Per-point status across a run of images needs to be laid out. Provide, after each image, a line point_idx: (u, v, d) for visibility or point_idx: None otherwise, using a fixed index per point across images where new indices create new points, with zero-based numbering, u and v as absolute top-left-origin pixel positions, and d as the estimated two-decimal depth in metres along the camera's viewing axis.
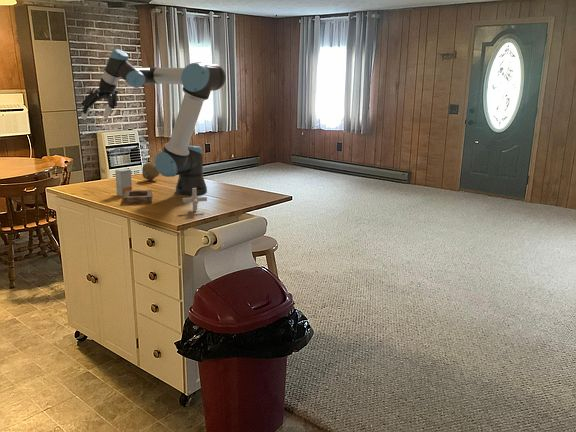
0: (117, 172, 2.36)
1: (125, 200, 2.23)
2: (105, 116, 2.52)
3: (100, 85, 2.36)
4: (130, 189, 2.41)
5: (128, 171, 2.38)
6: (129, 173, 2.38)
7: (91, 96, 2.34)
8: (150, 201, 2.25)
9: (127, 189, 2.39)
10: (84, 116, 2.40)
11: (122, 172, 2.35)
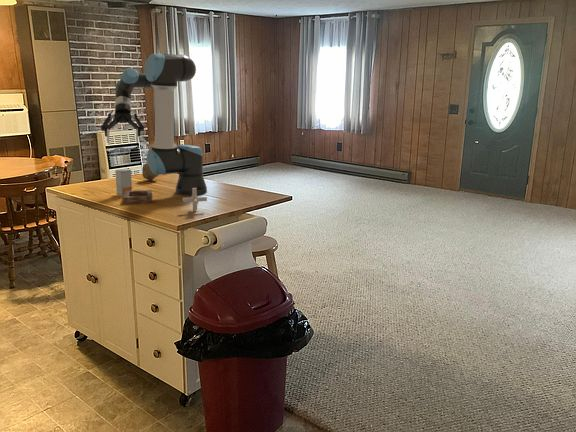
0: (117, 172, 2.36)
1: (125, 200, 2.23)
2: (136, 139, 2.46)
3: None
4: (130, 189, 2.41)
5: (128, 171, 2.38)
6: (129, 173, 2.38)
7: None
8: (150, 201, 2.25)
9: (127, 189, 2.39)
10: (107, 137, 2.43)
11: (122, 172, 2.35)
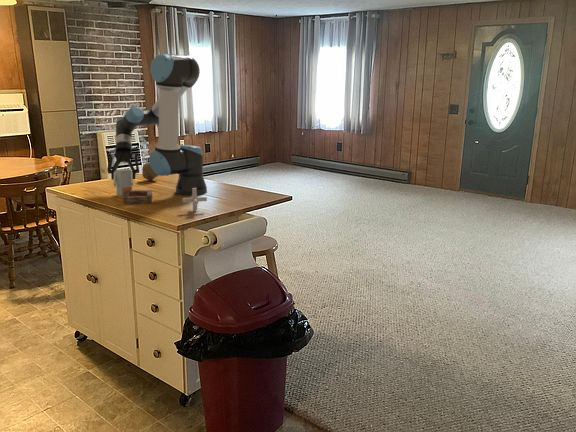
0: (117, 172, 2.36)
1: (125, 200, 2.23)
2: (131, 182, 2.37)
3: None
4: (130, 189, 2.41)
5: (128, 171, 2.38)
6: (129, 173, 2.38)
7: None
8: (150, 201, 2.25)
9: (127, 189, 2.39)
10: None
11: (122, 172, 2.35)
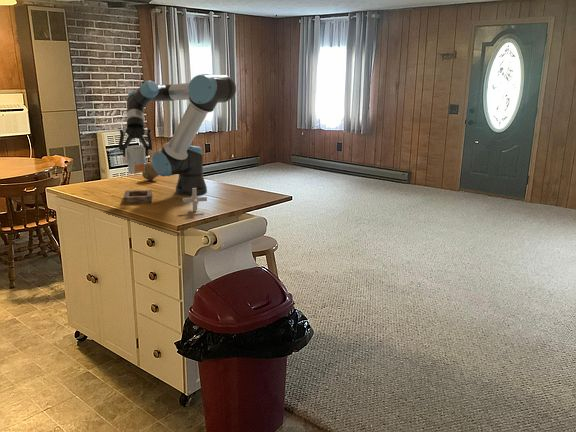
0: (129, 148, 2.22)
1: (125, 200, 2.23)
2: None
3: None
4: (143, 167, 2.27)
5: (140, 147, 2.24)
6: (141, 149, 2.25)
7: (120, 137, 2.27)
8: (150, 201, 2.25)
9: (139, 167, 2.26)
10: None
11: (134, 148, 2.22)
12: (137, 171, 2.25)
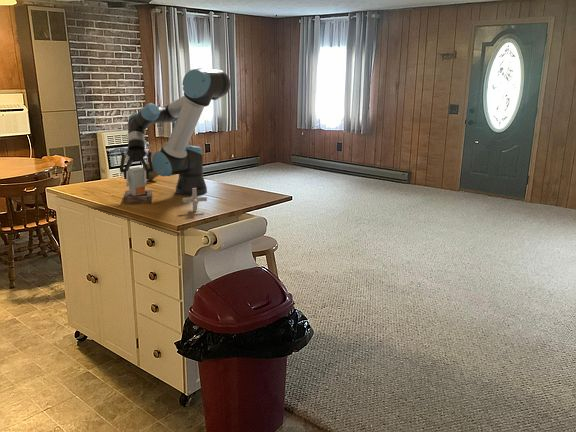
0: (130, 171, 2.25)
1: (125, 200, 2.23)
2: None
3: None
4: (143, 189, 2.30)
5: (141, 170, 2.27)
6: (142, 172, 2.28)
7: (121, 159, 2.30)
8: (150, 201, 2.25)
9: (140, 189, 2.29)
10: None
11: (135, 171, 2.25)
12: (138, 193, 2.28)
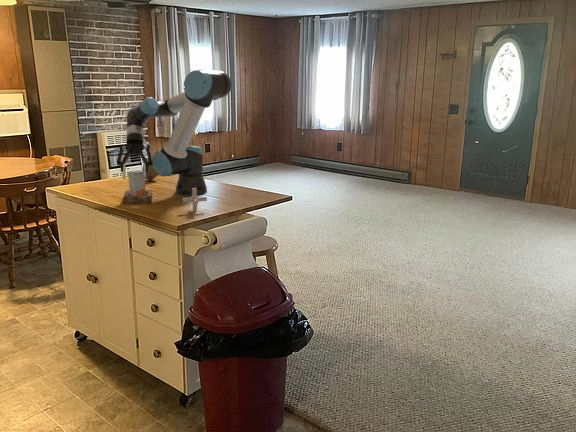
0: (130, 174, 2.26)
1: (125, 200, 2.23)
2: None
3: None
4: (144, 192, 2.30)
5: (141, 173, 2.28)
6: (142, 175, 2.29)
7: None
8: (150, 201, 2.25)
9: (141, 192, 2.29)
10: (123, 173, 2.24)
11: (135, 174, 2.25)
12: None
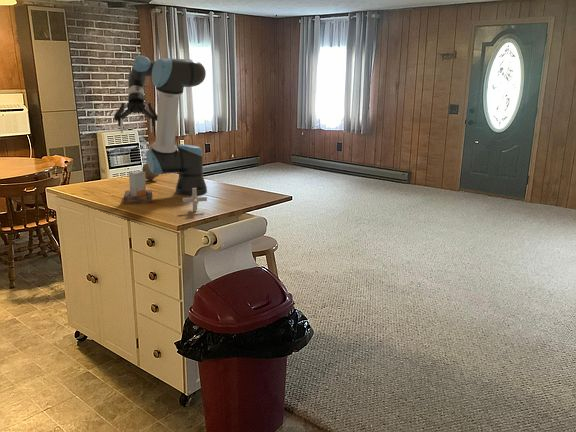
0: (131, 175, 2.26)
1: (125, 200, 2.23)
2: (150, 128, 2.40)
3: None
4: (144, 192, 2.30)
5: (142, 173, 2.28)
6: (143, 176, 2.28)
7: None
8: (150, 201, 2.25)
9: (141, 192, 2.29)
10: None
11: (136, 175, 2.25)
12: None
